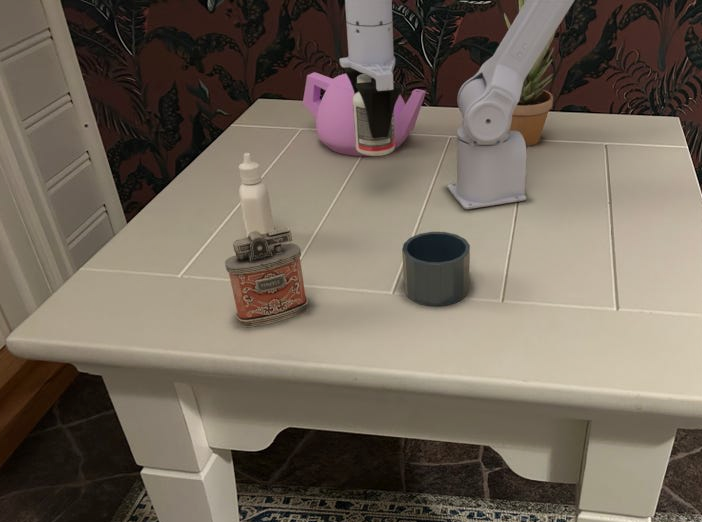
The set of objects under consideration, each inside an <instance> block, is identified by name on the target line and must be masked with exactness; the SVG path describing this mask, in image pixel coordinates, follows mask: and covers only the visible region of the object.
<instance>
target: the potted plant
mask: <svg viewBox="0 0 702 522" xmlns="http://www.w3.org/2000/svg"><path fill="white" fill-rule="evenodd" d="M517 2H518V13H519V12H520V10H521V8H522V7H523V5H524V3H525V2H526V0H518V1H517ZM503 17H504V20H505V24H506V26H507V29H508V30H509V28H510V27H511V25H512V23H511V22H510V19H509V18H508V16H507V14H506V13H505V12H504V13H503ZM555 35H556V31H555V32H554V34H553V35H552V37H551V39H550V40H549V42H548V43H547V45H546V46H545V48H544V50H543V51H542V53H541V54H540V56H539V57H538V59H537V61H536V62H535V64H534V65H533V67H532V69H531V70H530V72H529V73H528V75H527V76H526V78H525V80H524V83H523V87H522V91H521V96H520V100H519V102H518V104H517V105H516V107H515V109H514V111H513V114H512V121H511V126H510V128H509V131H519V132H520V133H521V134H522V136H523V138H524V141H525V144H526V147H529V146H533V145H534V146H535V145H536V144H538V143H539V142H540V140H541V136H542V133H543V129H544V126H545V123H546V120H547V117H548V114H549V112H550V110H551V109H552V108H553V102H554V95H553V94H552V93H551V92H550V91H549V90H548V91H547V90H545V89H544V88H545V87H546V86H547V85H549V83H551V81H553V78H552V76H554V73H551V74H549V75H548V76H547V77H545V78H544V79H542V77H543V76H544V74H545V73H546V71H547V70H548V68H549V67H550V65H551V64H552V62H553V60H554V58H551V56H552V54H553V53H554V49H555V46H552V48H551V49H550V51H549V48H550V46H551V44H552V42H553V40H554V37H555ZM548 51H549V53H548V55H547V56H546V54H547V52H548ZM545 56H546V58H545ZM544 58H545V59H544ZM543 60H544V61H543ZM541 79H542V80H541Z"/></svg>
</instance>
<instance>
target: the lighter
mask: <svg viewBox="0 0 702 522" xmlns="http://www.w3.org/2000/svg"><path fill="white" fill-rule="evenodd" d="M292 241H293V236H292V231H291V229H290V228H288V227H282V228H277V229H274V230H272V231H268V232H267V233H265V234H260V233H259V232H257V231H254V232H251V233H249V235H248V237H247V236H246V237H244V238H239V239H235V240H233V241H232V247H233V251H234V253H235V255H232V256H230V257H228V258H226V259H225V261H224V266H225V270H226V272H227V273H228V275H229V281H230V286H231V291H232V294H233V298H234V303H235V307H236V311H237V312H236V320H237V324H238V325H239V326H241V327H243V328H252V327H258V326H263V325H264V326H265V325H268V324H272V323H277V322H280V321H283V320H286V319H289V318H292V317H296V316H298V315H301V314H303V313H305V312H307V311H308V309H309V306H310V305H309V300H308V297H306V290H305V284H304V277H303V270H302V269H303V268H302V261H301V257H302V251H301V250H302V249H301V247H300V246H299V245H298V244H297V243H291V242H292Z"/></svg>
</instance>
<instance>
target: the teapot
mask: <svg viewBox="0 0 702 522" xmlns="http://www.w3.org/2000/svg"><path fill="white" fill-rule="evenodd" d="M322 90H324V94H323V96H322V98H321V91H322ZM426 93H427V91H426V90H423V89H418V88H415V89H413V90H412V91H411V94H410V96H409V98H408V100H407V101H406V102H405V100H404V98H403V97H402V95H401V94H400V95H399V97H398V99H397V101H396V104H395V107H394V134H395V148H394V150H397V149H398V148H400V146H402V144H403V143H404V142H405V141H406V139H407V138H408V137H409V135H410V132H412V131H413V130H414V129H415V126H416V123H417V121H418V117H419V113H420V110H421V108H422V105H423V103H424V99H425V96H426ZM354 95H355V93H354V90H353V87H352V85H351V82H350V80H349V78H348V76H347V74H346V73H342V74H338V75H337V76H335V77H334V78H331V77H329V76H326V75H324V74H321V73H318V72H315V71H314V72H312V73H310V74H309V73H308V74H307V75H306V80H305V87H304V93H303V99H302V105H303V107H304V108H305V109H306V110H307V111H308V112H309V113H310V114H311V116H312V117H313V118H314V119H315V120H316V123H315V127H316V128H315V129H316V130H315V131H316V135H317V137H318V138H319V140H320V141H321V142H322V143H323V144H324V145H325V146H326V147H328V148H329V150H331V151H333V152H335V153H337V154H340V155H345V156H352V157H353V156H354V157H370V156H369V155H364V154H361V153H359V152H358V151H357V149H356V142H355V128H354V112H353V97H354Z"/></svg>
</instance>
